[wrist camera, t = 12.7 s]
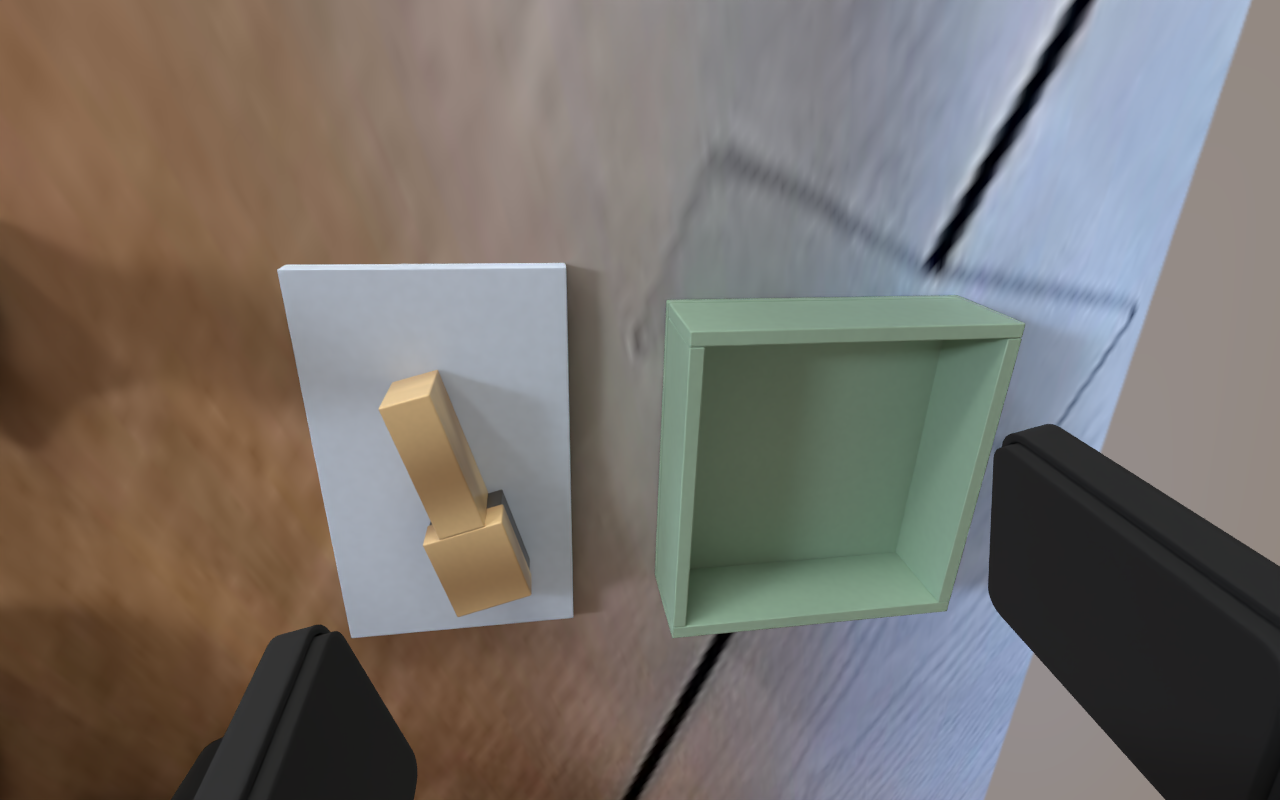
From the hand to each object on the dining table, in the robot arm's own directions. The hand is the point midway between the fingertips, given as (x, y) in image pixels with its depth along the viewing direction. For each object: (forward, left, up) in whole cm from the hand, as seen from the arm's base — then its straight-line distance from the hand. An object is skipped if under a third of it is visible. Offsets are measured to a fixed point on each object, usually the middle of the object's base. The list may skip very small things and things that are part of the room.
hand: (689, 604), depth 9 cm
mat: (+10, -7, -23) cm, 26 cm away
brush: (+10, -6, -22) cm, 25 cm away
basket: (+10, +12, -23) cm, 27 cm away
